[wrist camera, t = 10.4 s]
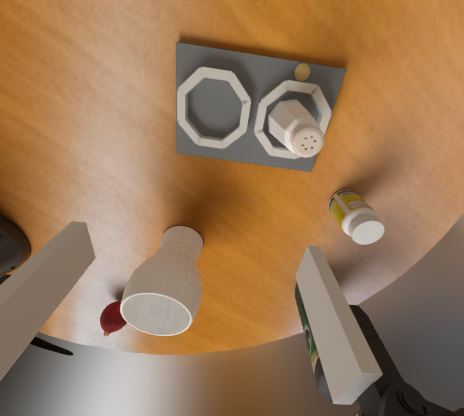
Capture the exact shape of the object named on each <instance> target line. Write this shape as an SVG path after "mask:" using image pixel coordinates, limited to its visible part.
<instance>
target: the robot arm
mask: <svg viewBox="0 0 464 416" xmlns="http://www.w3.org/2000/svg"><path fill="white" fill-rule="evenodd" d="M30 253H31V249H30V245H29V242H28V240H27V239H26V237H25V236H24V234H23V233H22V232H21V231H20V230H19V229H18V228H17V227H16V226H15V225H14V224H13V223H11V222H10V221H9V220H7V219H6V218H4V217H3V216H1V215H0V276H2V275H4V274H5V275H4V276H2V277H0V381H1V379H2V378H3V377H4V376H5V374H6V373H7V372H8V370H9V369H10V368H11V366H12V365H13V364H14V363H15V361H16V360H17V358H18V357H19V356H20V355H21V353H22V352H23V351H24V350H25V348H26V347H27V346H28V344H29V343H30V342H31V341H32V339H33V338H34V337H35V335H36V334H37V333H38V332H39V330H40V329H41V328H42V326H43V325H44V324H45V322H46V321H47V320H48V319H49V317H50V316H51V315H52V313H53V312H54V311H55V310H56V308H57V307H58V306H59V304H60V303H61V302H62V300H63V299H64V298H65V297H66V295H67V294H68V293H69V291H70V290H71V289H72V288H73V286H74V285H75V284H76V282H77V281H78V280H79V278H80V277H81V276H82V275H83V273H84V272H85V271H86V269H87V268H88V267H89V266H90V264H91V263H92V262H93V260H94V259H95V258H96V257H95V254H94V250H93V246H92V243H91V239H90V236H89V232H88V229H87V225H86V223H84V222H74V221H72V222H71V223H70V224H69V225H67V226H66V227H65V228H64V229H63V230H62V231H61V232H60V233H58V234H57V235H56V236H55V237H54V238H53V239H52V240H51V241H49V242H48V243H47V244H46V245H45V246H44V247H43V248H42V249H40V250H39V251H38V252H37V253H36V254H35V255H34V256H33V257H31V258H30V259H29V260H28V261H27V262H26V263H25V264H23V263H24V262H25V261H26V260H27V259H28V258H29V256H30ZM22 264H23V265H22ZM20 265H22V266H21V267H20V268H19V269H18V270H17V271H16V272H14V273H13V274H12V275H6V273H8V272H11V271H13V270H15V269H16V268H18V267H19V266H20ZM295 277H296V280H297V284H298V287H299V290H300V294H301V297H302V300H303V304H304V307H305V310H306V314H307V317H308V320H309V324H310V327H311V331H312V334H313V337H314V341H315V344H316V347H317V351H318V354H319V357H320V361H321V364H322V367H323V371H324V374H325V377H326V381H327V384H328V388H329V391H330V394H331V398H332V401H333V403H334V404H349V405H351V404H352V403H353V402H355V401H356V400H357V399H358V402H359V404H360V407H361V409H360V410H359V411H358V412H356V413H355V414H354V415H353V416H464V408H461V409H458V410H456V411H455V412H452V411H450V410H448V409H445V408H443V407H441V406H438V405H436V404H434V403H431V402H429V401H427V400H425V399H424V398H423V397H422V395H421V394H420V393H419V392H418V391H417V390H416V389H414V388H413V387H412V386H411V385H409V384H407V383H406V382H405V381H404V380H403V378H402V377H401V375H400V374H399V372H398V370H397V368H396V366H395V365H394V363H393V361H392V359H391V357H390V355H389V354H388V352H387V350H386V348H385V347H384V345H383V343H382V341H381V339H379V336H378V334H377V332H376V330H375V329H374V326H373V325H372V323H371V321H370V319H369V317H368V316H367V315H366V313H365V312H364V311H363V310H362V309H361V308H360V307H359V306H358V305H348V303H347V301H346V299H345V297H344V295H343V292H342V290H341V288H340V286H339V284H338V282H337V280H336V278H335V276H334V274H333V272H332V270H331V268H330V266H329V264H328V262H327V260H326V258H325V256H324V254H323V252H322V250H321V248H320V247H318V246H307V248H306V251H305V253H304V256H303V258H302V261H301V264H300V266H299V269H298V271H297V274H296V276H295Z"/></svg>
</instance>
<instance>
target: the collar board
mask: <svg viewBox="0 0 464 416" xmlns="http://www.w3.org/2000/svg"><path fill="white" fill-rule="evenodd" d="M345 72H346V69H343V68H337V67H331V66H324V65H318V64H312V63H305V62H299V61H293V60H286V59H280V58H274V57H267V56H261V55H255V54H248V53H242V52H236V51H229V50H223V49H217V48H210V47H204V46H198V45H191V44H185V43H179V42H176V153H181V154H188V155H195V156H202V157H209V158H216V159H223V160H230V161H237V162H244V163H251V164H258V165H265V166H272V167H279V168H286V169H293V170H300V171H307V172H311V171H312V168H313V165H314V162H315V159H316V156H317V154H315V155H314V156H311V157H306V158H304V157H300V156H298V155H297V154H296V153H292V152H291V151H290V150H289V149H288V148H287V147H285V146H284V145H283V144H282V143H281V142H280V141H279V140H278V139H276V138H275V137H274V136H273V135H272V134H271V133H270V132H269V127H268V115H269V113H270V112H271V111H272V110H273V109H274V107H275V106H276V105H277V104H278V103H279V102H280V101H286V100H295V99H297V100H298V101H299V102H300V103H301V104H302V105H303V106H304V107H305V108H306V109H307V110H308V112H309V113H310V114H311V115H312V117H313V118H314V119H315V120H316V122H317V123H318V124H319V125H320V130H321V131H322V133H323V135H325V132H326V129H327V126H328V123H329V120H330V117H331V114H332V113H331V112H332V109H333V106H334V104H335V101H336V98H337V95H338V92H339V89H340V86H341V83H342V80H343V77H344V74H345Z"/></svg>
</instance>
